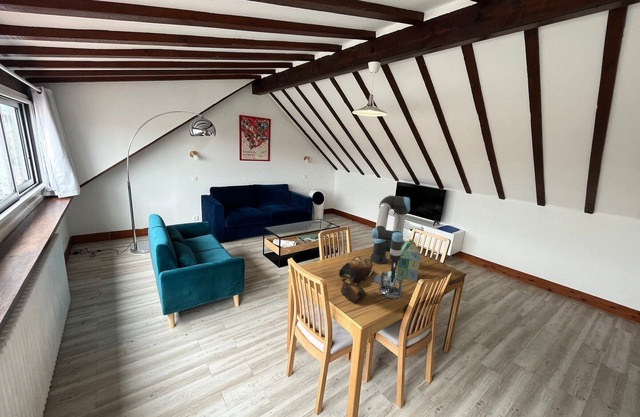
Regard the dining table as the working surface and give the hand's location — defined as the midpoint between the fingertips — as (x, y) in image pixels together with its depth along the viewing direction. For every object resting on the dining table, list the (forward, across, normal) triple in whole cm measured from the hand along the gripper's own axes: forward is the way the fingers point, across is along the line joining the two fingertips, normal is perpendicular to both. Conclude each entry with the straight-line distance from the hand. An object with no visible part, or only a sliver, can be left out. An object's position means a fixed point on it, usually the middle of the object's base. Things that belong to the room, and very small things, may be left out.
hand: (391, 282), depth 202 cm
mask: (+9, +17, +28) cm, 34 cm away
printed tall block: (+9, +33, -13) cm, 36 cm away
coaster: (+8, +16, +7) cm, 20 cm away
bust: (+9, -10, +25) cm, 28 cm away
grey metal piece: (+8, 0, 0) cm, 8 cm away
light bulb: (-1, 0, 0) cm, 1 cm away
